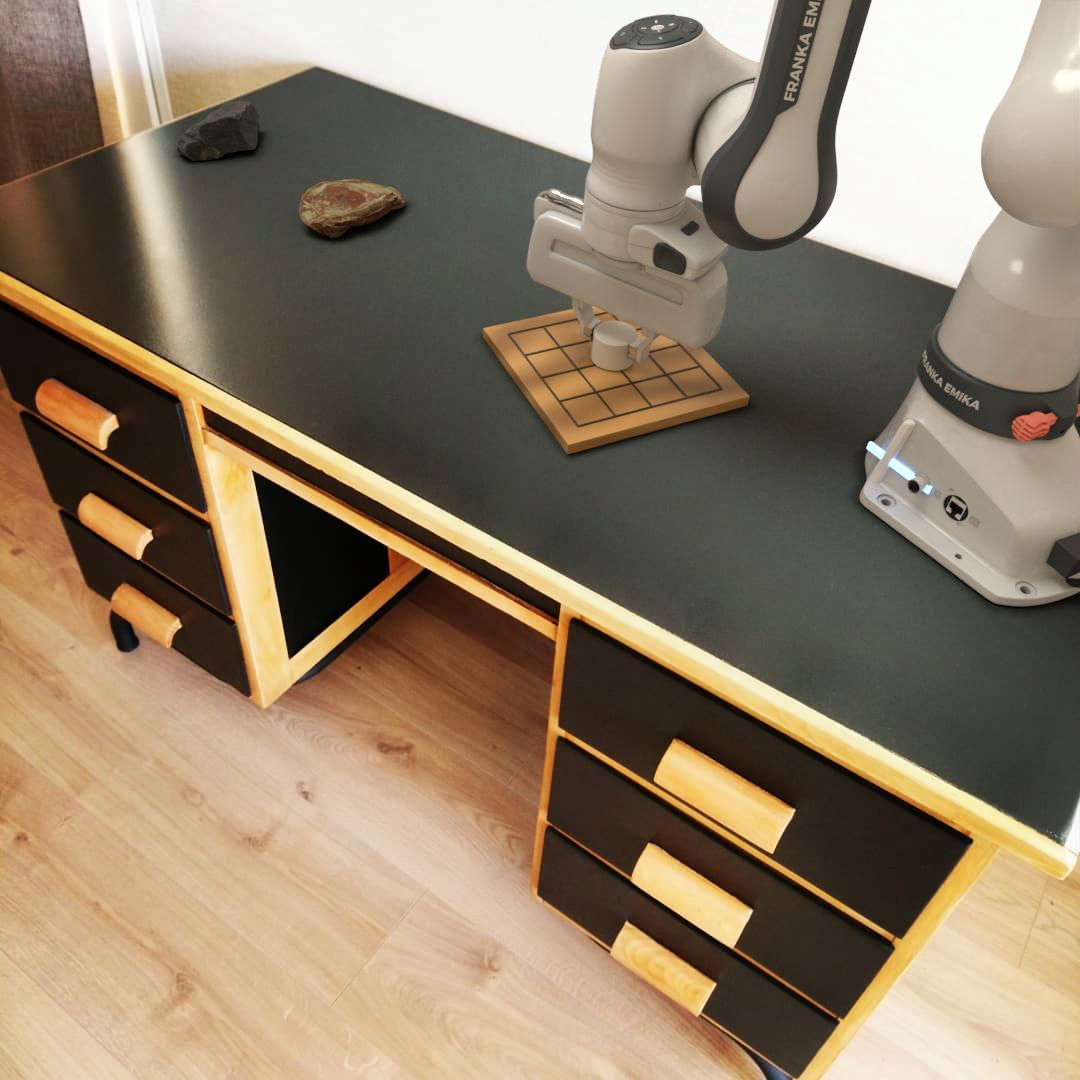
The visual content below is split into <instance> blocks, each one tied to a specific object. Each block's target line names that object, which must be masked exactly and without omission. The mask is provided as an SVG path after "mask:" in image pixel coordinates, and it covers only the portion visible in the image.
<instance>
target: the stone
mask: <svg viewBox="0 0 1080 1080" xmlns="http://www.w3.org/2000/svg"><path fill="white" fill-rule="evenodd" d="M406 203H407V202H406V199H405V196H404V195H403V193H401V192H400V191H398V189H396V188H394V187H393V186H385V185H383V184H379V183H372V182H371V181H368V180H360V179H354V178H352V179H341V180H333V181H326V180H325V181H321V182H319V183H317V184H314V185H313V186H312V187H310V188H308V189H307V191H305V193H304V194H302V196H301V199H300V202H299V206H298V214H299V217H300V220H301V221H302V223H303V224H305V225H306V226H308V227H309V228H310V229H311V230H313V231H315V232H317V233H319V234H321V235H323V236H328V237H329V238H330V239H335V238H339V237H341V236H342V235H344V234H345V233H346V232H347V231H348V230H349V229H351V228H352V227H362V226H365V225H368V224H371V223H374V222H376V221H378V220H379V219H381V218H382V217H384V216H386V215H387V214H389V213H390V212H391V211H392V210H398V209H402V208H403V207H405V206H406Z"/></svg>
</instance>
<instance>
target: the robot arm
mask: <svg viewBox="0 0 1080 1080" xmlns="http://www.w3.org/2000/svg"><path fill="white" fill-rule="evenodd" d="M872 1H873V0H774V2H773V5H772V9H771V12H770V13H771V14H770V18H769V22H768V26H767V29H766V34H765V37H764V42H763V47H762V51H761V54H760V59H759V61H755V60H752V59H750V58H747V57H745V56H743V55H740V54H739V53H738V52H737V53H736V52H735V51H734V50H731V49H730V48H728V47H726V46H725V45H724V44H722V43H721V42H720V41H718V40H717V39H716V38H714V37H713V35H712V34H710V32H709V31H708V30H707V29H706V28H705V26H704V25H703V23H701V22H700V21H699V20H697V19H695V18H692V17H689V16H683V15H676V14H670V13H669V14H667V13H666V14H655V15H649V16H645V17H641V18H638V19H635V20H633V21H632V22H629V23H628V24H626V25H624V26H622V27H621V28H620V29H618V30H617V31H616V32H615V33H614V35H613V36H612V37H611V38H610V40H609V42H608V44H607V45H606V47H605V50H604V53H603V56H602V59H601V63H600V66H599V71H598V76H597V79H596V80H597V81H596V86H595V92H594V100H593V105H592V106H593V107H592V113H591V114H592V115H591V122H590V123H591V124H590V141H591V147H592V158H591V163H590V165H589V168H588V171H587V173H586V177H585V183H584V184H585V185H584V192H583V193H584V195H583V198H581V197H578V196H577V195H576V196H575V195H571V194H568V193H565V192H564V191H562V190H560V189H558V188H553V187H552V188H551V187H550V188H549V189H548V190H543V191H541V192H540V193H538V194H537V196H536V197H535V200H534V202H533V221H534V224H533V227H532V230H531V234H530V239H529V243H528V249H527V256H526V271H527V272H528V275H529V277H530V278H531V280H532V281H534V282H536V283H538V284H540V285H542V286H545V287H547V288H550V289H553V290H555V291H557V292H559V293H561V294H563V295H566V296H568V297H571V298H572V299H571V307H572V309H574V312H575V314H576V316H577V319H578V321H579V322H580V329H579V336H580V337H582V338H584V339H587V340H589V341H591V342H592V340H593V332H594V328H595V327H596V326H597V325H598V324H599V323H601V322H602V321H601V320H599V319H597V318H595V315H594V312H593V309H592V306H594V307H596V308H599V309H601V310H603V311H606V312H608V313H610V314H613V315H615V316H617V317H620V318H622V319H624V320H627V321H629V322H631V323H634V324H636V325H638V326H641V327H642V333H641V334H642V335H643V336H647V337H646V338H645V339H643V338H640V337H638V338H637V339H635V341H634V342H632V343H631V344H630V345H629V354H628V358H630V359H632V360H634V361H636V362H638V363H642V362H644V361H645V360H646V359H647V357H648V355H649V351H650V346H651V343H652V342H653V341H654V340H655V339H656V338H657V337H658V336H659V335H661V336H664V337H666V338H668V339H671V340H673V341H675V342H678V343H680V344H682V345H685V346H687V347H689V348H692V349H699V348H701V347H702V348H704V346H706V345H707V344H709V343H710V342H711V341H712V340H713V339H714V338H715V337H716V336H717V335H718V334H719V332H720V330H721V328H722V324H723V322H724V321H723V320H724V316H725V312H726V311H725V310H726V302H727V297H728V296H727V295H728V281H729V279H728V273H727V272H728V271H727V269H726V267H725V265H724V263H723V262H722V260H721V259H723V257H724V256H725V255H726V254H727V252H728V250H729V248H730V247H732V248H735V249H738V250H742V251H747V252H767V251H772V250H777V249H780V248H784V247H786V246H789V245H791V244H794V243H795V242H797V241H799V240H800V239H802V238H803V237H805V236H807V235H808V234H809V233H811V231H813V230H814V229H815V228H816V227H817V226H818V225H819V224H820V223H821V221H822V220H823V219H824V218H825V217H826V215H827V213H828V212H829V210H830V208H831V207H832V204H833V202H834V199H835V196H836V193H837V189H838V162H837V161H838V160H837V149H836V136H837V125H838V120H839V116H840V112H841V107H842V105H843V100H844V96H845V93H846V90H847V86H848V83H849V80H850V77H851V72H852V69H853V67H854V64H855V63H854V62H855V59H856V56H857V52H858V50H859V49H858V48H859V46H860V42H861V38H862V35H863V33H864V28H865V25H866V21H867V18H868V15H869V12H870V8H871V5H872ZM1032 22H1033V23H1032V26H1031V29H1030V31H1029V34H1028V37H1027V40H1026V42H1025V46H1024V48H1023V52H1022V55H1021V57H1020V60H1019V62H1018V66H1017V69H1016V70H1015V73H1014V75H1013V78H1012V79H1011V81H1010V83H1009V86H1008V87H1007V88H1006V89H1007V90H1006V91H1005V93H1004V95H1003V96H1002V98H1001V100H1000V101H999V103H998V105H997V106H996V108H995V109H994V111H993V113H992V114H991V116H990V118H989V120H988V122H987V124H986V127H985V130H984V133H983V137H982V141H981V147H980V166H981V174H982V176H983V181H984V184H985V185H986V188H987V190H988V192H989V194H990V196H991V197H992V199H993V200H994V201H995V203H996V204H997V205H998V206H999V207H1000V208H1001V209H1000V210H999V212H998V214H997V215H996V216H995V218H994V219H992V221H991V223H990V224H989V226H988V227H987V228H986V229H985V231H984V232H983V233H982V234H981V236H980V237H979V238H978V240H977V242H976V244H975V245H974V248H973V250H972V252H971V254H970V257H969V259H968V262H967V264H966V266H965V269H964V271H963V274H962V276H961V278H960V280H959V282H958V284H957V287H956V289H955V292H954V294H953V296H952V298H951V301H950V304H949V306H948V308H947V310H946V313H945V315H944V318H943V320H942V321H941V322H939V323H938V324H937V325H936V326H935V327H934V329H933V331H932V333H931V335H930V336H929V339H928V341H927V343H926V345H925V347H924V350H923V352H922V355H921V356H920V359H919V361H918V364H917V377H916V378H915V380H914V382H913V384H912V386H911V388H910V390H909V391H908V393H907V395H906V397H905V398H904V400H903V402H902V404H901V405H900V407H899V409H898V410H897V411H896V412H895V414H894V415H893V417H892V419H891V420H890V421H889V423H888V424H887V426H885V428H884V429H883V430H882V432H881V433H880V434H879V435H878V436H877V437H876V438H875V440H873V441H871V440H870V441H869V442H868V443H867V446H866V450H867V451H866V453H865V457H864V468H865V476H866V479H865V480H866V481H865V482H864V485H863V486H862V488H861V490H860V493H859V496H858V497H859V498H858V499H859V502H860V504H862V506H863V507H864V508H866V509H867V510H869V512H871V513H872V514H874V515H875V516H877V517H878V518H879V519H880V520H882V521H883V522H884V523H885V524H887V525H889V526H890V527H891V528H892V529H893V530H895V531H896V532H897V533H899V534H900V535H901V536H903V537H904V538H905V539H907V540H908V541H909V542H910V543H912V544H913V545H915V546H916V547H917V548H919V550H921V551H922V552H924V553H925V554H927V556H929V557H931V558H932V559H933V560H934V561H936V562H937V563H938V564H940V565H941V566H943V568H945V569H947V570H948V571H949V572H951V573H952V574H953V575H954V576H956V578H958V579H959V580H961V581H963V583H965V584H966V585H967V586H969V587H970V588H971V589H972V590H974V591H976V592H977V593H979V594H980V595H981V596H982V597H984V598H985V599H986V600H988V601H990V602H991V603H993V604H997V605H1001V606H1008V607H1034V606H1040V605H1041V606H1042V605H1046V604H1051V603H1054V602H1057V601H1061V600H1063V599H1066V598H1069V597H1072V596H1074V595H1076V594H1078V593H1080V434H1079V432H1078V430H1077V428H1076V425H1075V422H1076V419H1077V418H1078V417H1080V403H1078V402H1079V396H1080V0H1040V3H1039V6H1038V9H1037V11H1036V14H1035V17H1034V20H1033V21H1032ZM693 186H700V194H701V203H702V204H701V205H702V211H701V210H700V209H698V208H697V207H696V206H695V205H694V204H693V203H692V202H691V201H690V200H689V199H688V198H687V197H686V194H687V190H689V188H691V187H693Z"/></svg>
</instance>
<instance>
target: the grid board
mask: <svg viewBox="0 0 1080 1080" xmlns="http://www.w3.org/2000/svg"><path fill="white" fill-rule="evenodd" d="M592 309H593V312H594V315H595V318H597V319H599V320H601V321H602V322H604V321H610V320H616V321H622V322H625V323H628V324H630V325H631V326H633V327H634V328H635V329H636V331H637V333H638V337H640V338H643V339H645V338H646V337H647V336H643V335H642V334H641V333H642V327H641V326H638V325H636V324H634V323H631V322H629V321H627V320H624V319H622V318H620V317H617V316H615V315H613V314H610V313H608V312H606V311H603V310H601V309H599V308H596V307H594V306H592ZM579 329H580V322H579V321H578V319H577V316H576V314H575V312H574V309H573V308H570V309H566V310H561V311H556V312H552V313H548V314H547V313H546V314H543V315H538V316H532V317H528V318H524V319H520V320H515V321H510V322H506V323H500V324H497V325H491V326H487V327H483V328H482V339H484V342H485V343H486V344H487V346H488V347H489V348H490V349H491V351H492V352H493V354H494V355H495V356H496V358H497V359H498V360H499V362H500V363H501V364H502V366H503V367H504V369H505V370H506V372H507V373H508V374H509V376H510V377H511V378H512V380H513V381H514V383H515V384H516V386H517V387H518V388H519V389H520V391H521V392H522V394H523V395H524V396H525V398H526V399H527V400H528V402H529V404H530V405H531V406H532V408H533V409H534V410H535V412H536V413H537V414H538V416H539V417H540V419H541V420H542V422H543V423H544V424H545V426H546V427H547V429H549V431H550V433H551V434H552V436H553V437H554V438H555V440H556V441H557V442H558V444H559V445H560V447H561V448H562V449H563V450H564V452H565V454H567V455H571V454H574V453H579V452H582V451H585V450H590V449H592V448H597V447H601V446H604V445H608V444H611V443H615V442H618V441H622V440H626V439H630V438H633V437H637V436H640V435H645V434H648V433H652V432H656V431H659V430H662V429H663V430H664V429H667V428H670V427H674V426H678V425H681V424H685V423H687V422H692V421H697V420H699V419H703V418H707V417H710V416H714V415H718V414H721V413H725V412H728V411H733V410H737V409H740V408H743V407H747V406H748V404H749V400H750V395H749V394H748V392H747V391H745V389H743V388H742V387H741V385H740V384H738V383H737V381H736V380H735V379H734V378H733V377H732V376H731V375H730V374H729V373H728V372H727V371H726V370H725V369H724V368H723V367H722V366H721V365H720V364H719V363H718V362H717V361H716V360H715V359H714V358H713V357H712V356H711V355H710V354H709V352H708V351H706V349H704V347H701V348H699V349H692V348H689V347H687V346H685V345H682V344H680V343H678V342H675V341H673V340H671V339H668V338H666V337H664V336H661V335H659V336H658V337H657V338H656V339H655V340H654V341H653V342H652V343H651V346H650V351H649V355H648V357H647V359H646V360H645V361H644V362H642V363H638V362H636V361H634V362H633V364H632V365H631V366H630V367H629V368H627V369H624V370H619V371H611V370H606V369H603V368H600V367H598V366H597V365H596V364H594V362H593V361H592V359H591V349H592V342H591V341H589V340H587V339H584V338H582V337H580V336H579ZM638 337H637V338H638Z"/></svg>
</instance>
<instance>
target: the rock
mask: <svg viewBox="0 0 1080 1080" xmlns="http://www.w3.org/2000/svg"><path fill="white" fill-rule="evenodd" d="M259 117H260V114H259V112H258V109H257V108H256V107H255V106H254V104H253V102H251V101H245V100H234V101H225V102H224V103H223V104H222V105H221V106H220V107H219V108H218V109H215V110H213V111H212V112H211V113H209V114H208V115H207V116H206V117H204V118H203V119H202V120H200V121H198V122H196V123H194V124H192V125H191V126H189V127H188V128H187V130H186V131H185V132H183V134H182V135H181V137H179V140H178V141H177V143H176V151H177V153H178V154H179V155H181V156H183V157H186V158H188V159H189V160H190V161H194V162H195V161H209V160H218V159H221V158H223V157H224V155H227V154H229V153H235V152H245V151H253V150H256V147H257V146H258V144H259V143H258V142H259V138H258V137H259V131H260V127H261V125H260V118H259Z"/></svg>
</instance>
